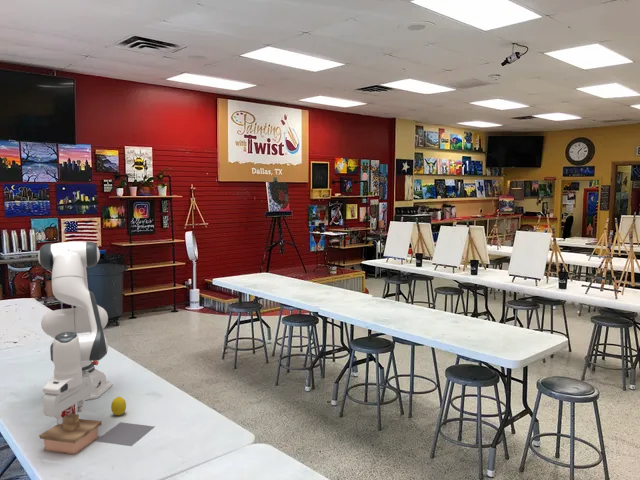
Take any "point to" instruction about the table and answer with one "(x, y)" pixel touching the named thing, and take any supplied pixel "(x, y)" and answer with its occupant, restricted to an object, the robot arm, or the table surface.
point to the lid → (71, 429)
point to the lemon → (118, 406)
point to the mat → (125, 434)
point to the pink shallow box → (71, 444)
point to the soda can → (68, 411)
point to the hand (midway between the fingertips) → (70, 417)
